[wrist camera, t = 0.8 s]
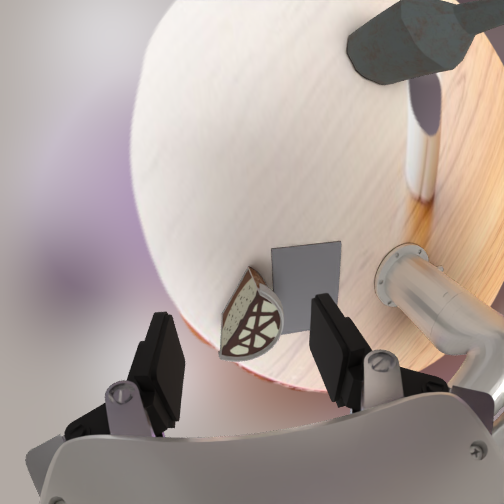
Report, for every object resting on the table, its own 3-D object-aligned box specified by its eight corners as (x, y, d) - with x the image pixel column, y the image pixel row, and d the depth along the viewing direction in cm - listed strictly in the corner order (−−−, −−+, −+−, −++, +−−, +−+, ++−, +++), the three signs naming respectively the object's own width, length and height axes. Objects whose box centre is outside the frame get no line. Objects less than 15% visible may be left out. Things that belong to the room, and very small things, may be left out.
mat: (340, 241, 41) (341, 241, 41) (334, 324, 47) (335, 325, 46) (271, 248, 40) (271, 249, 40) (275, 334, 46) (275, 335, 46)
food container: (250, 332, 45) (257, 373, 36) (218, 320, 44) (218, 361, 35) (287, 273, 42) (305, 308, 33) (253, 257, 40) (262, 291, 31)
